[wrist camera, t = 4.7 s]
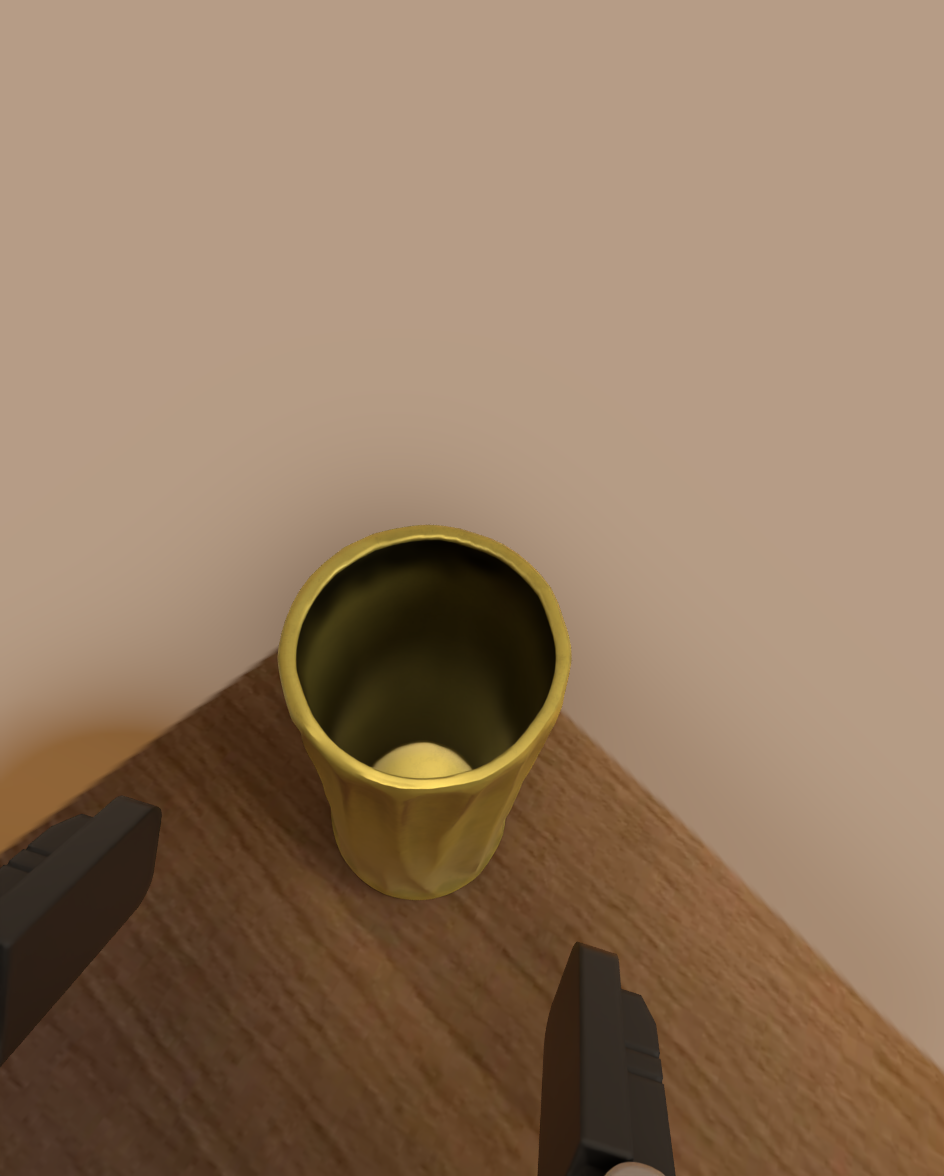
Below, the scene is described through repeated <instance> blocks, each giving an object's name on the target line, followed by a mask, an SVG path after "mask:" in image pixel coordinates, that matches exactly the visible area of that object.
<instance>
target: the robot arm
mask: <svg viewBox="0 0 944 1176" xmlns="http://www.w3.org/2000/svg"><path fill="white" fill-rule="evenodd" d="M161 817H162V812H161V809H160V808H159V807H157V806H154V805H151V804H148V803H144V802H141V801H138V800H135V799H132V798H129V797H125V796H119V797H117V798H115V799H114V800H113V801H112V802H110V803H109V804H108V805H107V806H106V807H105V808H103V809H102V810H101V811H100V812H99V813H98V814H97V815H95V816H94V817H90V816H87V815H84V814H80V815H77V816H75V817H73V818H70V819H68V820H66V821H63V822H61V823H59V824H56V825H54V826H51V827H50V828H49V829H48V830H46V831H45V832H44V833H43V834H41V835H40V836H39V837H38V838H37V839H35V840H34V841H33V842H32V843H30V844H29V845H28V847H27V849H26V850H25V849H23V850H22V851H21V852H19V853H18V854H17V855H16V856H14V857H13V858H12V859H11V860H9V863H8V864H7V865H3V866H2V867H1V868H0V1067H1V1066H2V1064H3V1063H4V1062H5V1061H6V1060H7V1059H8V1057H9V1056H10V1055H11V1054H12V1053H13V1052H14V1050H15V1049H16V1048H17V1047H18V1046H19V1045H20V1044H21V1042H22V1041H23V1040H24V1039H25V1038H26V1037H27V1035H28V1034H29V1033H30V1032H31V1031H32V1030H33V1028H34V1027H35V1026H36V1025H37V1024H38V1023H39V1022H40V1020H41V1019H42V1018H43V1017H44V1016H45V1015H46V1013H47V1012H48V1011H49V1010H50V1009H51V1008H52V1006H53V1005H54V1004H55V1003H56V1002H57V1001H58V1000H59V998H60V997H61V996H62V995H63V994H64V993H65V991H66V990H67V989H68V988H69V987H70V986H71V984H72V983H73V982H74V981H75V980H76V979H77V978H78V976H79V975H80V974H81V973H82V972H83V971H84V969H85V968H86V967H87V966H88V965H89V964H90V962H91V961H92V960H93V959H94V958H95V957H96V956H97V954H98V953H99V952H100V951H101V950H102V949H103V947H104V946H105V945H106V944H107V943H108V942H109V940H110V939H111V938H112V937H113V936H114V935H115V934H116V932H117V931H118V930H119V929H120V928H121V927H122V925H123V924H124V923H125V922H126V921H127V920H128V918H129V917H130V916H131V915H132V914H133V913H134V911H135V910H136V909H137V908H138V906H139V905H140V904H141V902H142V900H143V899H144V897H145V895H146V893H147V891H148V889H149V886H150V884H151V881H152V877H153V873H154V866H155V859H156V852H157V845H158V838H159V831H160V825H161ZM659 1054H660V1052H659V1044H658V1036H657V1028H656V1023H655V1021H654V1019H653V1017H652V1016H651V1014H650V1012H649V1010H648V1008H647V1006H646V1004H645V1002H644V1000H643V998H642V996H641V995H639V994H636V993H633V992H629V991H626V990H623V989H621V983H620V970H619V959H618V956H617V954H614V953H611V952H608V951H605V950H602V949H599V948H596V947H592V946H589V945H586V944H583V943H580V942H576V943H575V945H574V946H573V949H572V951H571V954H570V957H569V959H568V962H567V965H566V968H565V970H564V973H563V976H562V979H561V981H560V984H559V987H558V990H557V992H556V995H555V998H554V1001H553V1003H552V1006H551V1010H550V1013H549V1017H548V1022H547V1027H546V1033H545V1041H544V1056H543V1077H542V1097H541V1117H540V1138H539V1158H538V1176H675V1168H674V1160H673V1152H672V1145H671V1137H670V1129H669V1121H668V1114H667V1106H666V1098H665V1090H664V1084H662V1079H663V1075H662V1067H661V1059H659Z"/></svg>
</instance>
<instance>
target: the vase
mask: <svg viewBox="0 0 944 1176" xmlns="http://www.w3.org/2000/svg"><path fill="white" fill-rule="evenodd" d="M570 666H571V645H570V640H569V635H568V631H567V628H566V625H565V622H564V619H563V616H562V613H561V610H560V607H559V604H558V602H557V599H556V597H555V595H554V593H553V591H552V589H551V587H550V586H549V585H548V583H547V582H546V581H545V580H544V578H543V577H542V576H541V575H540V574H539V573H538V571H536V569H535V568H534V567H533V566H532V565H530V564H529V563H528V562H527V561H526V560H525V559H524V558H522V557H521V556H520V555H519V554H517V553H516V552H514V551H512V550H511V549H510V548H508V547H507V546H505V545H504V544H501V543H499V542H497V541H495V540H493V539H491V538H488V537H485V536H482V535H479V534H476V533H472V532H469V531H466V530H463V529H459V528H453V527H447V526H439V525H417V526H408V527H402V528H396V529H391V530H387V531H383V532H379V533H375V534H372V535H370V536H368V537H365V538H363V539H361V540H359V541H357V542H355V543H352V544H350V545H348V546H346V547H344V548H343V549H341V550H340V551H339V552H337V553H336V554H335V555H334V556H332V557H331V558H330V559H329V560H327V561H326V562H325V563H324V564H323V565H321V567H319V568H318V569H317V570H316V571H315V572H314V574H312V575H311V576H310V577H309V579H308V580H307V582H306V583H305V584H304V585H303V587H302V588H301V589H300V591H299V593H298V595H297V596H296V598H295V600H294V601H293V603H292V606H291V608H290V610H289V613H288V615H287V618H286V620H285V623H284V627H283V630H282V633H281V638H280V643H279V649H278V667H279V674H280V679H281V684H282V688H283V692H284V697H285V701H286V704H287V707H288V710H289V713H290V717H291V720H292V721H293V723H294V724H295V725H296V727H297V728H298V730H299V731H300V732H301V737H302V742H303V745H304V747H305V749H306V751H307V754H308V756H309V757H310V759H311V761H312V762H313V764H314V766H315V768H316V770H317V772H318V774H319V777H320V779H321V782H322V784H323V788H324V792H325V795H326V797H327V799H328V802H329V804H330V807H331V819H332V827H333V832H334V836H335V840H336V843H337V846H338V848H339V851H340V853H341V855H342V857H343V858H344V860H345V861H346V863H347V864H348V865H349V867H350V868H351V870H352V871H353V872H354V873H355V874H356V875H357V876H358V877H359V878H360V879H361V880H363V881H364V882H365V883H366V884H368V885H369V886H370V887H372V888H374V889H375V890H377V891H379V892H381V893H383V894H385V895H389V896H392V897H396V898H400V899H407V900H428V899H434V898H438V897H442V896H445V895H448V894H450V893H452V892H454V891H456V890H458V889H460V888H462V887H463V886H465V885H466V884H468V883H469V882H471V881H472V880H474V879H475V878H476V877H477V876H478V875H479V874H480V873H481V872H482V870H483V869H484V868H485V866H486V865H487V864H488V862H489V861H490V859H491V857H492V856H493V854H494V852H495V851H496V849H497V847H498V845H499V843H500V840H501V838H502V835H503V831H504V826H505V819H506V817H507V815H508V813H509V812H510V810H511V808H512V806H513V803H514V801H515V799H516V797H517V794H518V792H519V790H520V787H521V785H522V782H523V780H524V779H525V777H526V776H527V774H528V773H529V771H530V769H531V768H532V766H533V764H534V762H535V760H536V758H537V756H538V755H539V753H540V751H541V749H542V747H543V746H544V744H545V742H546V740H547V738H548V735H549V734H550V732H551V730H552V728H553V726H554V725H555V722H556V720H557V718H558V715H559V713H560V710H561V708H562V704H563V699H564V694H565V690H566V686H567V681H568V677H569V672H570Z"/></svg>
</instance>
